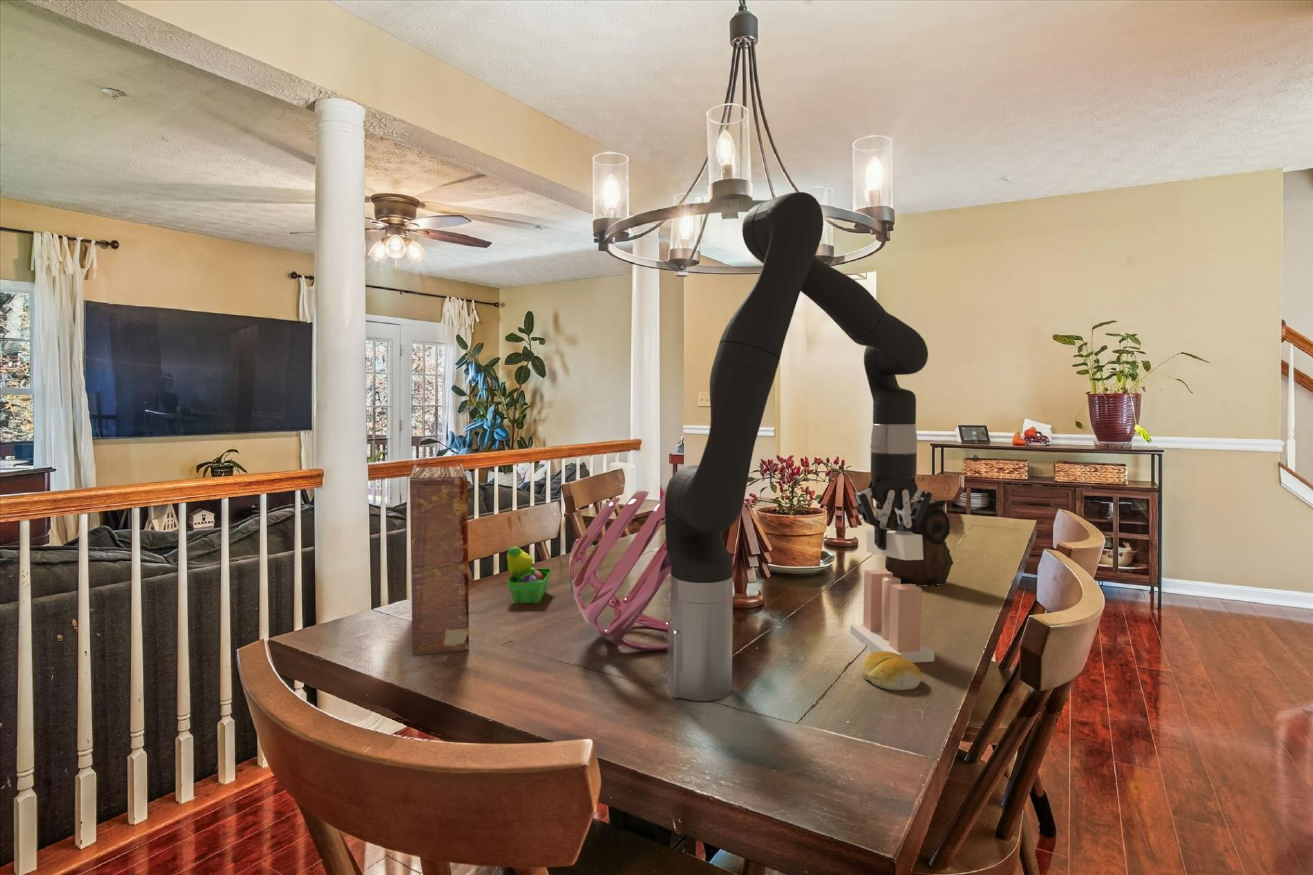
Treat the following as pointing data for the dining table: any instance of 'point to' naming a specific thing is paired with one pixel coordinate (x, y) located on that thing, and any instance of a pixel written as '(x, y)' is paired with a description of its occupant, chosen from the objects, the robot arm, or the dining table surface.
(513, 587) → the fruit basket
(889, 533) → the frame bar
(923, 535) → the owl
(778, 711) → the dining table surface
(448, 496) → the book
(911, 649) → the display stand
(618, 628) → the spiral basket
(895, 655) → the bread roll
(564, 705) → the dining table surface
